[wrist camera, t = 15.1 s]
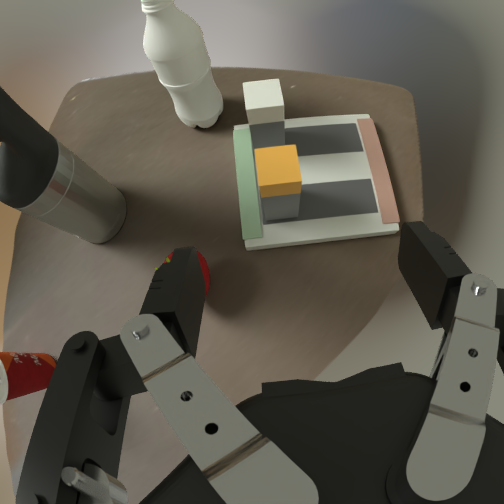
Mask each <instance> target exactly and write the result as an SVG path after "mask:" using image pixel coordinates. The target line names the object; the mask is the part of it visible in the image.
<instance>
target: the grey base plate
mask: <svg viewBox="0 0 504 504" xmlns="http://www.w3.org/2000/svg"><path fill="white" fill-rule="evenodd" d="M243 89H244V98H245V106H246V113H247V118H248V123H249V124H243V125H236V126H234V130H233V138H234V149H235V161H236V172H237V183H238V194H239V205H240V216H241V227H242V238H243V240H245V248H246V250H247V251H250V250H259V249H267V248H276V247H284V246H293V245H302V244H310V243H319V242H328V241H336V240H345V239H354V238H362V237H371V236H380V235H388V234H395V233H396V232H397V231H399V226H398V222H400V220H399V215H398V210H397V206H396V202H395V197H394V193H393V189H392V185H391V181H390V177H389V173H388V170H387V166H386V162H385V159H384V155H383V152H382V148H381V145H380V142H379V138H378V135H377V132H376V129H375V126H374V123H373V120H372V118H370V117H369V114H358V115H335V116H319V117H306V118H294V119H284V102H283V97H282V92H281V87H280V83H279V79H270V80H262V81H254V82H246V83H243ZM294 144H296V150H297V155H298V161H299V166H300V172H301V178H302V186H301V195H300V203H299V212H298V217H295V218H286V219H277V220H269V221H266V219H265V214H264V209H263V204H262V199H261V194H260V189H259V183H258V175H257V166H256V158H255V149H258V148H267V147H275V146H284V145H294Z"/></svg>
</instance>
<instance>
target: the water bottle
mask: <svg viewBox="0 0 504 504" xmlns="http://www.w3.org/2000/svg"><path fill="white" fill-rule="evenodd" d="M140 1H141V2H142V11H143V12H144V13H146V16H147V22H146V28H145V32H144V39H143V47H144V51H145V54H146V56H147V57H148V58H149V59H150V61H151V63H152V65H153V67H154V69H155V71H156V73H157V75H158V77H159V80H160V82H161V83H162V84H163V85H164V86H165V87H166V88H167V90H168V91H169V93H170V95H171V97H172V99H173V102H174V106H175V111H176V113H177V115H178V117H179V118H180V120H181V121H182V122H183V123H184V124H186V125H187V126H189V127H191V128H195V127H196V125H198V126H199V127H201V128H208V127H210V126H212V125H214V123H215V122H216V121H217V119H218V116H219V115H221V113H222V111H223V99H222V95H221V93H220V91H219V89H218V88H217V86H216V84H215V82H214V80H213V77H212V73H211V66H210V63H211V61H210V58H209V56H208V52H207V49H206V46H205V42H204V39H203V33H202V30H201V28H200V26H199V25H198V24H197V23H196V21H194V19H192V18H191V17H190V16H188V15H187V14H185V13H184V12H182V11H181V10H179V9H178V8H177V7H176V6H175V5H174V3H173V2H174V0H140Z"/></svg>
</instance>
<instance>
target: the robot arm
mask: <svg viewBox="0 0 504 504" xmlns="http://www.w3.org/2000/svg"><path fill="white" fill-rule="evenodd" d="M0 142H2V143H1V146H0V201H1V202H3V203H4V204H6V205H8V206H10V207H13V208H15V209H17V210H19V211H21V212H23V213H26V214H28V215H30V216H32V217H34V218H37V219H39V220H41V221H43V222H45V223H48V224H50V225H52V226H54V227H56V228H59V229H61V230H63V231H65V232H68V233H70V234H72V235H74V236H77V237H79V238H81V239H83V240H86V241H88V242H91V243H97V244H99V243H104V242H106V241H108V240H110V239H111V238H112V237H114V236H115V235H116V234H117V233H118V231H119V230H120V228H121V227H122V225H123V222H124V220H125V216H126V201H125V198H124V196H123V195H122V193H121V192H120V191H119V190H118V189H117V188H115V187H114V186H113V185H112V184H110V183H109V182H108V181H107V180H106V179H104V178H103V177H102V176H101V175H99V174H98V173H97V172H96V171H95V170H93V169H92V168H91V167H90V166H88V165H87V164H86V163H85V162H84V161H82V160H81V159H80V158H79V157H78V156H76V155H75V154H74V153H73V152H72V151H70V150H69V149H68V148H67V147H65V146H64V145H63V144H62V143H61V142H59V141H58V140H57V139H56V138H55V137H53V136H52V135H51V134H50V133H49V132H48V131H46V130H45V129H44V128H43V127H42V126H41V125H39V124H38V123H37V122H36V121H35V120H34V119H33V118H32V117H31V116H30V115H28V114H27V113H26V112H25V111H24V110H23V109H22V108H21V107H20V106H19V105H18V104H17V103H16V102H15V101H14V100H13V99H12V98H11V97H10V96H9V95H8V94H7V93H6V92H5V91H4V90H3V89H2V88H1V87H0ZM398 264H399V269H400V271H401V273H402V275H403V277H404V279H405V280H406V282H407V284H408V286H409V287H410V289H411V291H412V293H413V295H414V297H415V298H416V300H417V302H418V304H419V306H420V308H421V310H422V311H423V313H424V315H425V317H426V319H427V321H428V323H429V325H430V327H431V329H432V330H433V329H438V328H442V327H443V329H444V330H445V331H444V334H443V336H442V340H441V343H440V346H439V349H438V353H437V356H436V359H435V362H434V365H433V368H432V371H431V374H430V376H429V377H428V376H425V375H422V374H418V373H412V372H404V369H403V366H402V364H401V362H400V363H395V364H391V365H386V366H382V367H376V368H370V369H367V370H365V371H363V372H360V373H358V374H356V375H353V376H351V377H348V378H346V379H343V380H341V381H338V382H322V381H309V380H299V379H297V380H287V381H277V382H266V383H262V393H260V394H257V395H254V396H252V397H250V398H247V399H246V400H244V401H242V402H240V403H239V404H237V405H236V406H234V405H233V403H232V402H231V401H230V400H229V399H228V398H227V397H226V396H225V394H224V393H223V392H222V391H221V390H220V389H219V388H218V386H217V385H216V384H215V383H214V382H213V381H212V379H211V378H210V377H209V376H208V375H207V374H206V372H205V371H204V370H203V369H202V368H201V366H200V365H199V364H198V363H197V362H196V360H195V356H196V350H197V344H198V337H199V331H200V325H201V319H202V313H203V307H204V301H205V295H206V285H205V279H204V276H203V272H202V268H201V265H200V261H199V258H198V254H197V251H196V248H195V247H194V246H192V247H184V248H176V249H175V250H174V252H173V255H172V257H171V260H170V262H167V263H163V264H162V265H161V266H160V267H159V268H158V269H157V270H156V271H155V274H154V276H153V279H152V283H151V284H150V287H149V290H148V292H147V294H146V297H145V300H144V302H143V305H142V308H141V311H140V313H139V315H138V316H135V317H133V318H131V319H130V320H128V321H127V322H126V323H125V324H124V326H123V327H122V329H121V331H120V334H119V335H117V336H113V337H110V338H106V339H103V340H100V341H99V339H98V337H97V336H96V335H95V334H94V333H93V332H90V331H83V332H79V333H77V334H75V335H73V336H72V337H71V338H70V339H69V340H68V341H67V342H66V343H65V345H64V347H63V349H62V352H61V354H60V357H59V359H58V362H57V364H56V367H55V369H54V372H53V374H52V377H51V380H50V382H49V385H48V388H47V390H46V393H45V396H44V399H43V402H42V405H41V408H40V411H39V414H38V417H37V420H36V423H35V426H34V429H33V432H32V436H31V439H30V443H29V446H28V450H27V453H26V457H25V461H24V465H23V469H22V473H21V477H20V481H19V486H18V490H17V495H16V504H128V495H127V491H126V488H125V487H124V485H123V484H122V483H121V482H120V481H119V480H117V476H118V469H119V462H120V455H121V449H122V442H123V436H124V431H125V425H126V419H127V414H128V409H129V403H130V398H131V395H135V394H138V393H142V392H146V391H148V392H149V393H150V395H151V397H152V398H153V400H154V402H155V403H156V405H157V406H158V408H159V410H160V411H161V413H162V414H163V416H164V418H165V419H166V421H167V422H168V424H169V425H170V427H171V428H172V430H173V431H174V433H175V434H176V436H177V437H178V439H179V440H180V442H181V443H182V445H183V446H184V447H185V449H186V450H187V452H188V453H189V454H188V455H187V457H186V458H185V459H184V460H183V461H182V462H181V463H180V464H179V465H178V466H177V467H176V468H175V469H174V470H173V471H172V472H171V473H170V474H169V475H168V476H167V477H166V478H165V479H164V480H163V481H162V482H161V483H160V484H159V485H158V486H157V487H156V488H155V489H154V490H153V491H152V492H150V493H149V494H148V495H147V496H146V497H145V498H144V499H143V500H142V501H141V502H140V503H139V504H504V424H502V423H501V422H499V421H498V420H496V419H495V418H493V417H491V416H490V415H488V414H487V413H486V412H487V408H488V403H489V399H490V394H491V389H492V384H493V378H494V372H495V366H496V359H497V361H498V363H499V365H500V367H501V369H502V371H503V373H504V289H500V288H496V285H495V284H494V282H493V281H492V280H490V279H489V278H488V277H486V276H484V275H481V274H476V273H472V272H471V271H470V270H469V268H468V267H467V266H466V264H465V263H464V262H463V261H462V259H461V258H460V257H459V256H458V254H456V252H455V251H454V250H453V248H451V246H450V245H449V244H448V242H447V241H446V240H445V239H444V238H443V237H441V236H439V235H438V234H436V233H435V232H431V231H430V230H429V229H428V228H427V226H426V225H425V224H424V223H423V222H422V221H416V222H407V223H403V225H402V229H401V238H400V246H399V254H398Z"/></svg>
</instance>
